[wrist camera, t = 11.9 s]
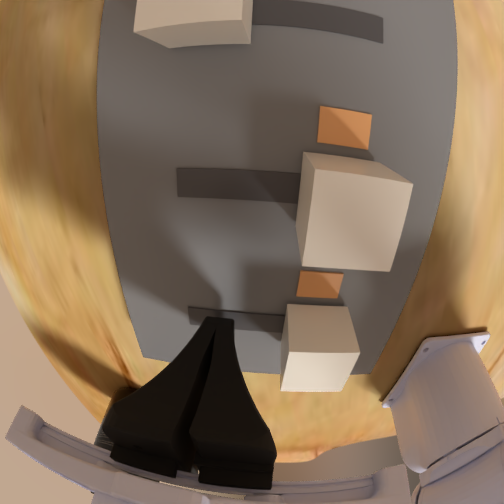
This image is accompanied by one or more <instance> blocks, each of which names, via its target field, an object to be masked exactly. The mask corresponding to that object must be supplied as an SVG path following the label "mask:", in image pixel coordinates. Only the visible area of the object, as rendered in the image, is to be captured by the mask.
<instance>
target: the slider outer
mask: <svg viewBox="0 0 504 504" xmlns="http://www.w3.org/2000/svg"><path fill="white" fill-rule="evenodd" d="M252 9H253V0H137V5H136V13H135V21H134V31H133V32H134V33H136V34H139V35H141V36H144V37H146V38H148V39H150V40H153V41H155V42H157V43H159V44H161V45H163V46H165V47H167V48H177V47H187V46H199V45H216V44H251V26H252Z"/></svg>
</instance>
